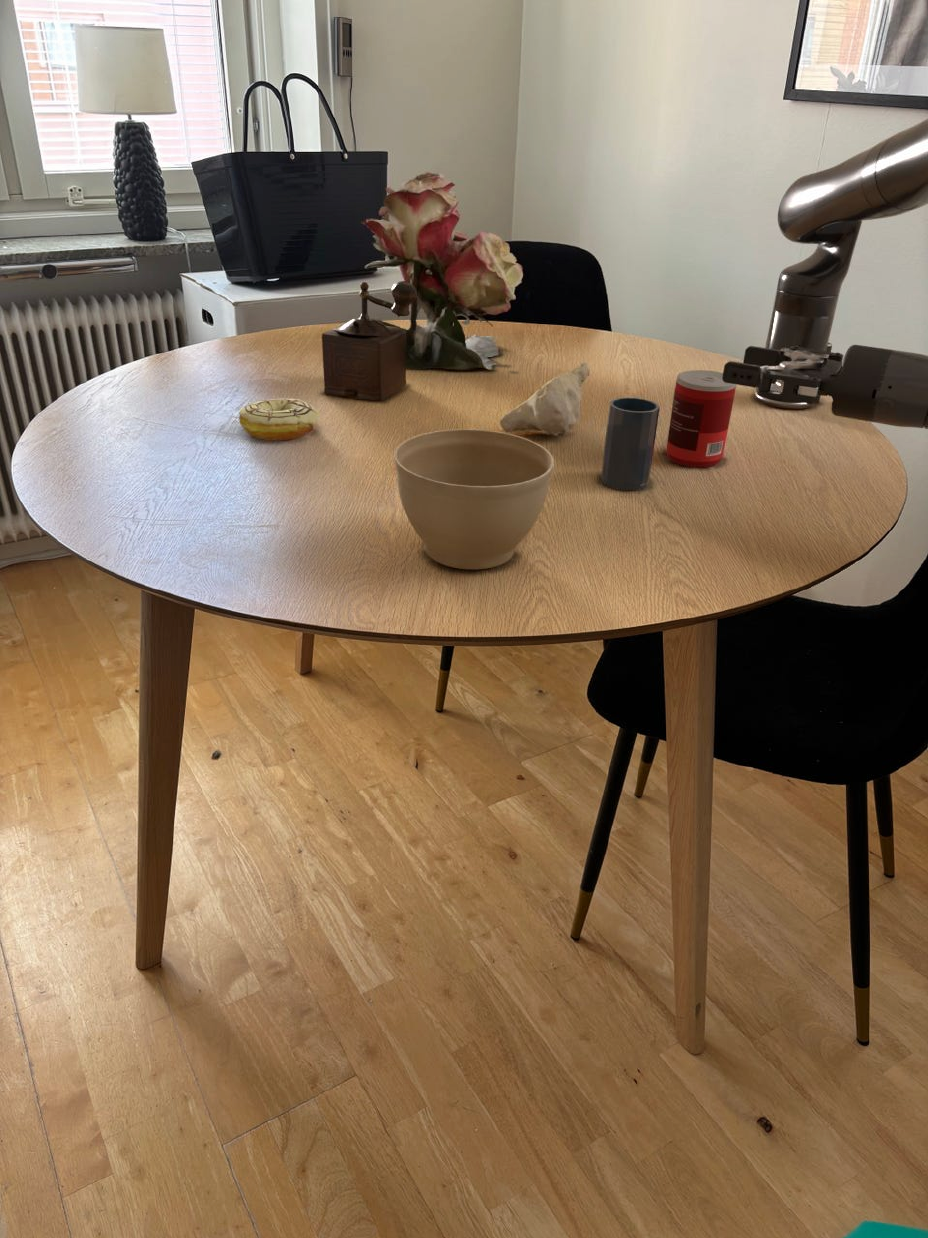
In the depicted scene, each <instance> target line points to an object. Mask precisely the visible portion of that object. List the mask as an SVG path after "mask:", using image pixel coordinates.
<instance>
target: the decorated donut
mask: <svg viewBox="0 0 928 1238" xmlns="http://www.w3.org/2000/svg"><path fill="white" fill-rule="evenodd" d="M238 414H239V416H238V420H239V424H240V425H241V427H242V428H243V430H244V431H245V432H246V433H247V434H248V435H250V436H251V437H254V438H256V439H260V440H265V441H270V442H271V441H278V440H279V441H280V440H282V441H286V440H292V439H293V440H294V439H298V438H300V437H303V436H305V435H307V434H308V433H310V432H312V431H313V429H314V428H316V427H317V425H318V424H319V413H318V411H317V408H315V406H313V405H311V404H310V403H309V402H306V401H304V400H301V399H299V398H298V399H297V398H269V399H261V400H256V401H252V402H250V403H248V404H245V405H244V406H243V407H241V408H240V410H239V412H238Z"/></svg>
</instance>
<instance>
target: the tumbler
mask: <svg viewBox="0 0 928 1238" xmlns="http://www.w3.org/2000/svg"><path fill="white" fill-rule="evenodd" d="M660 409H661V407H660V405H659V403H657V402H656V401H653V400H650V399H646V398H639V397H628V396H627V397H625V396H624V397H617V398H614V399H611V401H609V404H608V413H607V420H606V421H607V422H606V430H605V437H604V438H605V439H604V447H603V456H602V465H601V473H600V474H601V475H600V481H601V483H603V485H605V486H606V487H609V488H612V489H614V490H620V491H639V490H643V489H645V488H647V487H648V485H649V482H650V479H651V471H652V465H653V458H654V451H655V444H656V436H657V430H658V423H659V416H660Z"/></svg>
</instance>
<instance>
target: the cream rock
mask: <svg viewBox="0 0 928 1238" xmlns="http://www.w3.org/2000/svg"><path fill="white" fill-rule="evenodd" d="M590 371H591V370H590V369H589V366H588V363H587V362H580V363H579V365H578V366H576V367H575V368H574V369H572V370H571V371H570V370H569V371H568V372H566V373H564V374H558V375H556V376H555V377H554V378H552V379H551V380H549V381H547V382H546V383H545V384H543V386H542V387H541V388H540V389H537V390H536V391H535V392H534V393H533V394H532V395H530V397H529V398H528V399H526V400H524V401H523V402H522V403H521V404H519V405H518V406H516V407H513V408H512V409H511V410H509V411H508V412H507V413H506V414H504V415H503V416H502V417H501V419H500V420H499V421H498V422H499V426H500V427H501V429H502V431H504V432H505V433H510V434H512V433H514V432H517V431H519V432H525V431H537V432H546V433H548V434H551V435H553V436H555V437H557V436H558V435H560V433H561V434H562V435H566V434H568V432H569V430H570V429H571V427H573V426H574V425H575V424H577V423H578V421H579V420H580V419H581V415H582V414H581V412H580V406H581V403H582V397H583V395H584V392H583V388H582V387H583V385H584V382H585V381H586V380H587V377H589V376H590Z"/></svg>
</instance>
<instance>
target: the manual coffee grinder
mask: <svg viewBox="0 0 928 1238" xmlns="http://www.w3.org/2000/svg"><path fill="white" fill-rule="evenodd" d="M359 286H360V291H359V297H360V298H361V314H360V317H356V318H352V319H351V320H349V321H348V322H346V323H343V324H341V325H339V326H336V327H334V328H331V329H329V330H326V331H325V332H322V334H321V347H322V367H323V384H324V389H323V394H325V395H329V396H330V395H331V396H336V397H343V398H349V399H359V400H360V399H361V400H369V401H381V402H382V401H384V400H387V399H390V398H391V397H393V396H394V395H396V394H398V393H399V392H401V391H402V390H403V389H404V388H405V387H406V386H407V368H406V330H407V328H403V327H400V328H397V327H390V326H385V325H384V324H383V323H381V322H379V321H378V320H376V319H373V317H372V318H371V317H370V316H369V314H368V302H370V303H373V304H374V305H377V306H380V307H384V308H387V309H390V310H391V313H393V314H394V315H396V316H397V318H400V317H408V316H409V315H410V304H411V303H412V302H413V301H414V300H415V299H416V296H417V291H416V288H415V287H414V286H413V285H412V284H411V283H409V282H406V281H404V280H401V281H397V282H395V283H394V284H393V285H392V287H391V295H392V297H393V299H394V300H393V301H394V303H392V302H389V301H386V300H383V299H380V298H377V297H374V296H372V295H370V292H369V291H368V290H369V284H368V282H366V281H362V282H361V283H360V285H359Z"/></svg>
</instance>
